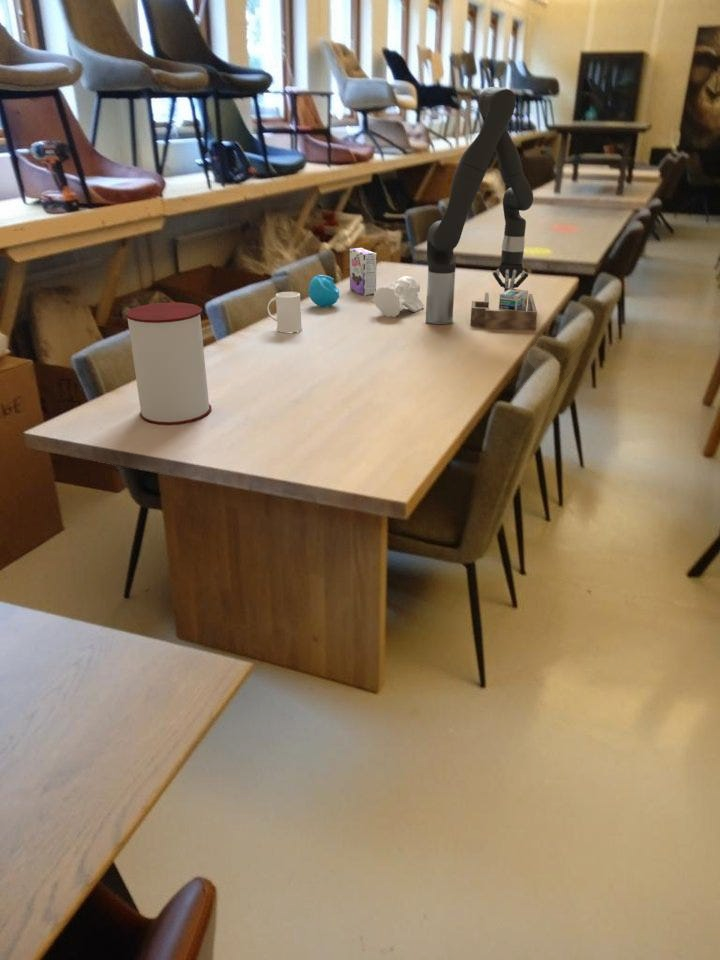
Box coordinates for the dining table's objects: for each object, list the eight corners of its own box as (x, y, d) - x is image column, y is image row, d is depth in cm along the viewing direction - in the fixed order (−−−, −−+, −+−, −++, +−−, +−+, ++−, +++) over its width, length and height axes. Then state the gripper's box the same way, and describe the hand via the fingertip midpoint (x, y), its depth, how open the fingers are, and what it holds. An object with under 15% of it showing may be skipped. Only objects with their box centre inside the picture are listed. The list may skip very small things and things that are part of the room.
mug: (263, 331, 250) (261, 295, 245) (275, 324, 257) (273, 289, 252) (295, 334, 246) (293, 298, 241) (306, 328, 254) (305, 292, 248)
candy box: (349, 289, 307) (348, 248, 300) (362, 288, 309) (362, 247, 302) (363, 296, 296) (363, 253, 289) (376, 295, 298) (377, 252, 291)
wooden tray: (470, 327, 253) (471, 310, 251) (471, 308, 278) (472, 292, 275) (535, 330, 251) (537, 312, 248) (530, 310, 275) (532, 294, 272)
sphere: (338, 310, 276) (338, 278, 270) (307, 310, 276) (306, 278, 271) (340, 302, 286) (339, 271, 281) (310, 302, 287) (309, 271, 281)
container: (216, 399, 192) (207, 301, 181) (206, 424, 177) (195, 319, 165) (148, 400, 191) (135, 302, 180) (132, 425, 176) (116, 320, 165)
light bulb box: (515, 327, 253) (518, 296, 249) (496, 325, 256) (499, 293, 252) (525, 320, 262) (528, 289, 257) (507, 318, 265) (510, 287, 260)
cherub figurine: (367, 285, 266) (395, 270, 279) (369, 319, 272) (397, 302, 286) (399, 288, 259) (426, 272, 273) (401, 323, 265) (427, 306, 279)
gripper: (493, 250, 257) (489, 300, 265) (533, 251, 256) (527, 302, 263) (493, 246, 264) (488, 295, 271) (531, 248, 262) (525, 297, 270)
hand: (507, 298), depth 267 cm, fingers closed
